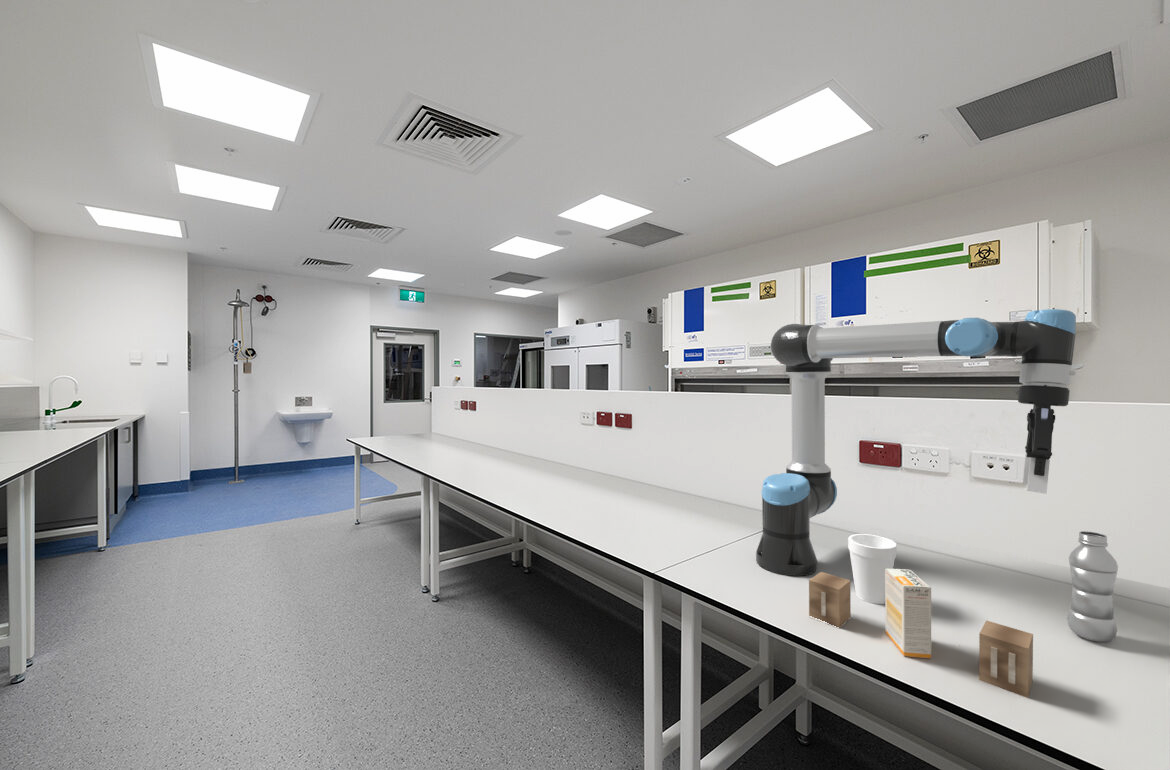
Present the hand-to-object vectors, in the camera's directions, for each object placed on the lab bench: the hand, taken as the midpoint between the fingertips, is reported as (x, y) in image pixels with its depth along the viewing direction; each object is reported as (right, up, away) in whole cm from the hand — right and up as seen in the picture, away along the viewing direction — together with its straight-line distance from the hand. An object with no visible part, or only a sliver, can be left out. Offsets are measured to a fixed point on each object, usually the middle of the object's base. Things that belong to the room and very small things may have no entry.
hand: (1033, 488), depth 98 cm
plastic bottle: (+5, -27, -7) cm, 29 cm away
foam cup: (-27, -27, +11) cm, 40 cm away
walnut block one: (-41, -28, +2) cm, 49 cm away
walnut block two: (-22, -28, -19) cm, 40 cm away
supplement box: (-31, -28, -8) cm, 43 cm away
